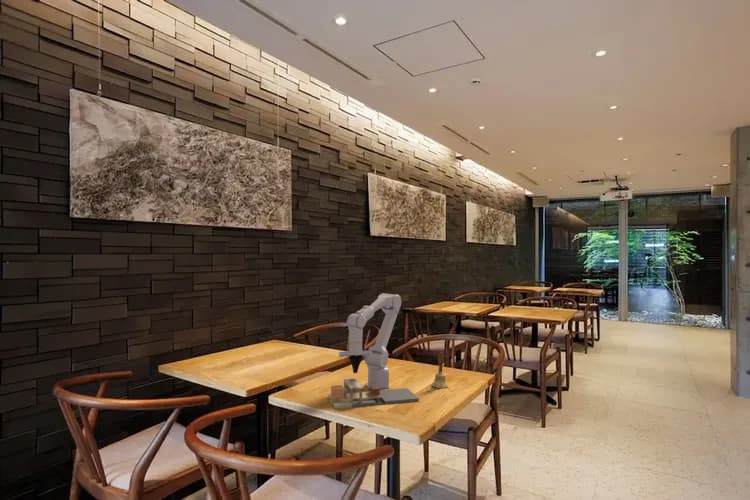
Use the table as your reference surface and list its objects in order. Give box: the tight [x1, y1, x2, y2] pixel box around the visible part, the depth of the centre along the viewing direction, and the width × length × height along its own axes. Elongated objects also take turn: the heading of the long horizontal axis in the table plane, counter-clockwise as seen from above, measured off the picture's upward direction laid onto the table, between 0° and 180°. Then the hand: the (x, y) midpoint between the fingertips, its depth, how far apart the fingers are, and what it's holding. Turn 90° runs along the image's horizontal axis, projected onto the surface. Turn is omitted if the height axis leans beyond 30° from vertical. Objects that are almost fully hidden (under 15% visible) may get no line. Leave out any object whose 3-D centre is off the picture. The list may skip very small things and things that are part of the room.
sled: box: [330, 385, 381, 402], centre depth 177 cm, size 20×7×4 cm, turn 107°
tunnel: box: [343, 378, 364, 403], centre depth 177 cm, size 5×12×6 cm, turn 17°
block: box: [330, 384, 344, 399], centre depth 175 cm, size 4×4×4 cm
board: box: [327, 387, 420, 410], centre depth 180 cm, size 36×14×1 cm, turn 107°
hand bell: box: [430, 351, 450, 389], centre depth 200 cm, size 8×8×16 cm
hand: (355, 372), depth 186 cm, fingers closed
